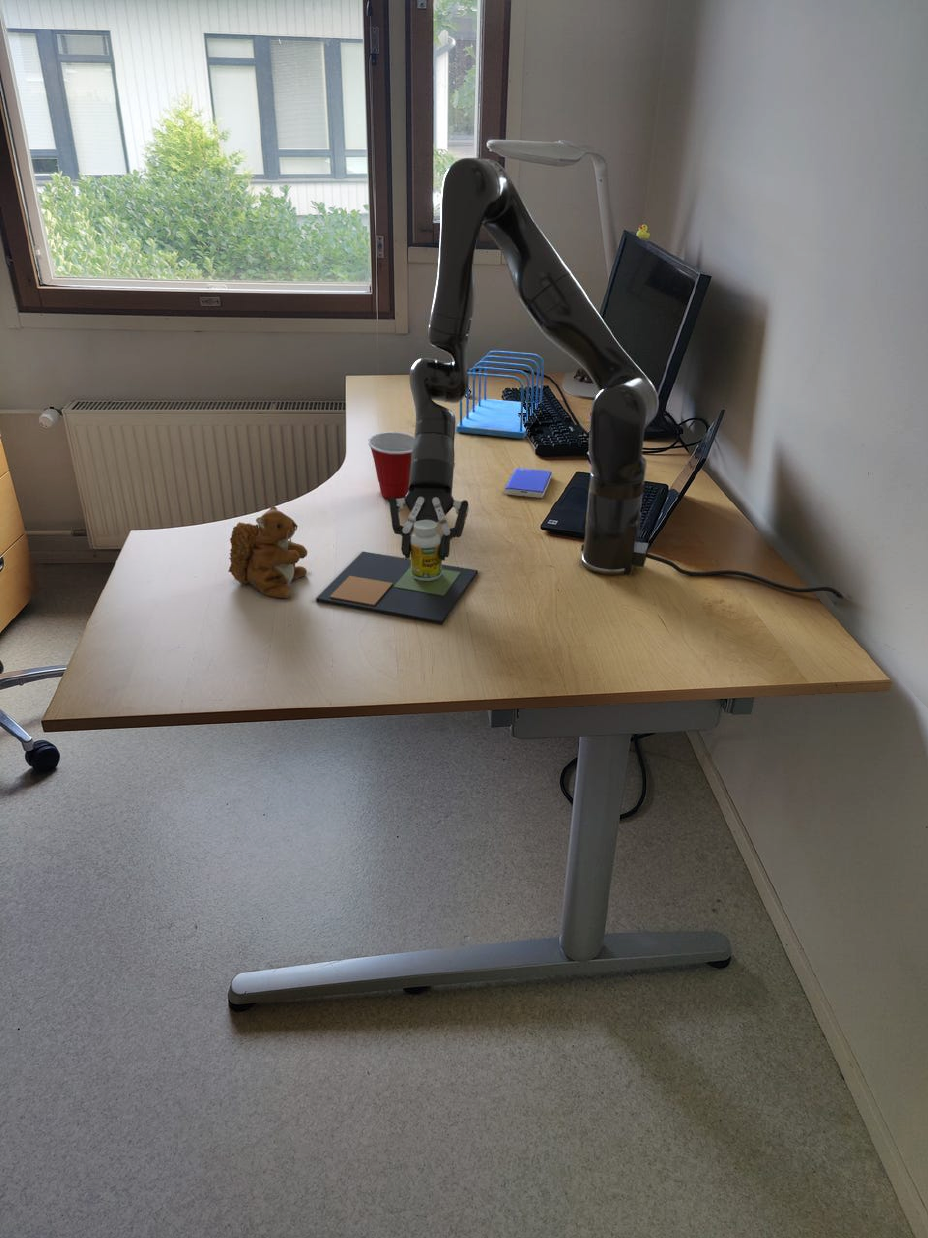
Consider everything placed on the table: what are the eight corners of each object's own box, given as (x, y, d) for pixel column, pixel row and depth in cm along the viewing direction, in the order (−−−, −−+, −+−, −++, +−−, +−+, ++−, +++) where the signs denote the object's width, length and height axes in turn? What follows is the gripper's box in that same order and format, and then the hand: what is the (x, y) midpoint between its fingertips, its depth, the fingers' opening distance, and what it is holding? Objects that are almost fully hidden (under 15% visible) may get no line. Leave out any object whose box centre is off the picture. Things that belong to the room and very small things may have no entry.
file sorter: (482, 405, 244) (484, 348, 236) (544, 411, 240) (548, 354, 232) (456, 432, 223) (457, 371, 216) (523, 440, 219) (526, 377, 212)
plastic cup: (390, 509, 180) (389, 452, 174) (359, 493, 187) (357, 438, 181) (431, 496, 187) (432, 441, 181) (400, 481, 194) (399, 428, 188)
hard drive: (515, 467, 198) (504, 487, 188) (552, 471, 196) (543, 491, 186) (515, 474, 199) (504, 494, 188) (551, 477, 197) (542, 498, 187)
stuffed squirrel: (291, 601, 146) (284, 527, 140) (215, 588, 150) (205, 516, 143) (317, 575, 155) (312, 504, 148) (244, 563, 158) (236, 494, 152)
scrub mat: (477, 573, 156) (477, 569, 156) (441, 624, 141) (442, 620, 140) (362, 554, 162) (362, 550, 162) (316, 601, 146) (315, 597, 146)
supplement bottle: (431, 565, 157) (431, 515, 152) (448, 577, 153) (447, 526, 148) (405, 572, 154) (403, 522, 150) (421, 585, 151) (420, 533, 146)
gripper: (388, 454, 151) (379, 548, 147) (472, 458, 150) (466, 552, 146) (393, 472, 158) (385, 563, 154) (474, 476, 158) (468, 567, 153)
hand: (424, 557), depth 150 cm, fingers closed on supplement bottle, 5 cm apart
